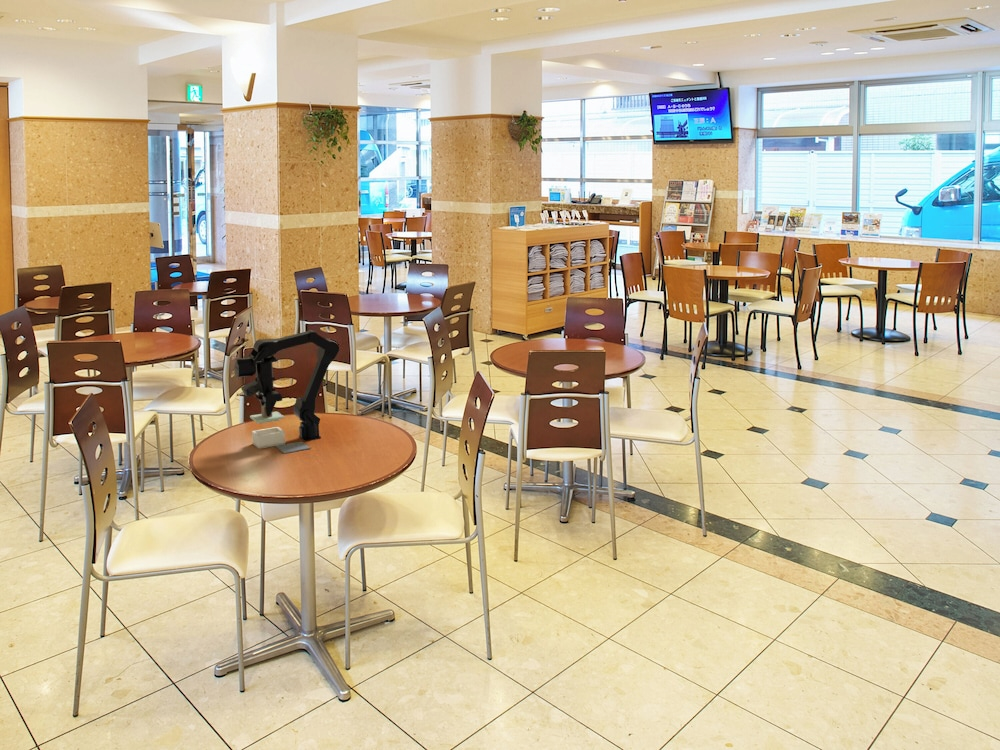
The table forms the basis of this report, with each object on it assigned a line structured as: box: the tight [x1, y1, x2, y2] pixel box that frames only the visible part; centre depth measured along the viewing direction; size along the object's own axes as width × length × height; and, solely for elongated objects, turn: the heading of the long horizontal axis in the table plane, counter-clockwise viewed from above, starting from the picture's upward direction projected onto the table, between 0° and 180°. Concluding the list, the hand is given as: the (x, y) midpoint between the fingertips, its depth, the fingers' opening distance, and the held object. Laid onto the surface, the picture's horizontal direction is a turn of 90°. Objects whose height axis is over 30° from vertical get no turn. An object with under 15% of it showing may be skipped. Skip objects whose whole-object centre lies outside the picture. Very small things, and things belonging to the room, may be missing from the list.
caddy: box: [251, 426, 286, 450], centre depth 326 cm, size 10×7×5 cm
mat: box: [275, 441, 311, 455], centre depth 322 cm, size 10×8×1 cm
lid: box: [249, 404, 285, 425], centre depth 323 cm, size 10×7×6 cm
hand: (267, 414), depth 324 cm, fingers closed on lid, 3 cm apart
